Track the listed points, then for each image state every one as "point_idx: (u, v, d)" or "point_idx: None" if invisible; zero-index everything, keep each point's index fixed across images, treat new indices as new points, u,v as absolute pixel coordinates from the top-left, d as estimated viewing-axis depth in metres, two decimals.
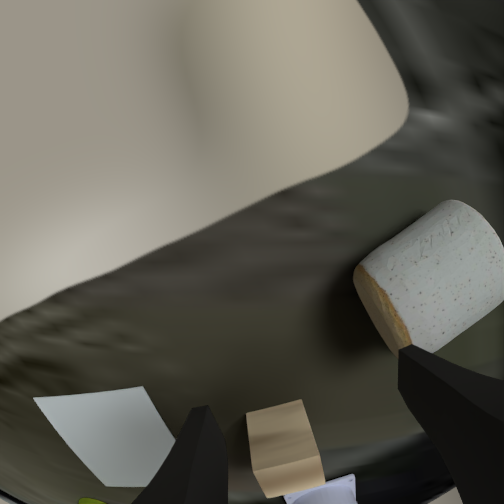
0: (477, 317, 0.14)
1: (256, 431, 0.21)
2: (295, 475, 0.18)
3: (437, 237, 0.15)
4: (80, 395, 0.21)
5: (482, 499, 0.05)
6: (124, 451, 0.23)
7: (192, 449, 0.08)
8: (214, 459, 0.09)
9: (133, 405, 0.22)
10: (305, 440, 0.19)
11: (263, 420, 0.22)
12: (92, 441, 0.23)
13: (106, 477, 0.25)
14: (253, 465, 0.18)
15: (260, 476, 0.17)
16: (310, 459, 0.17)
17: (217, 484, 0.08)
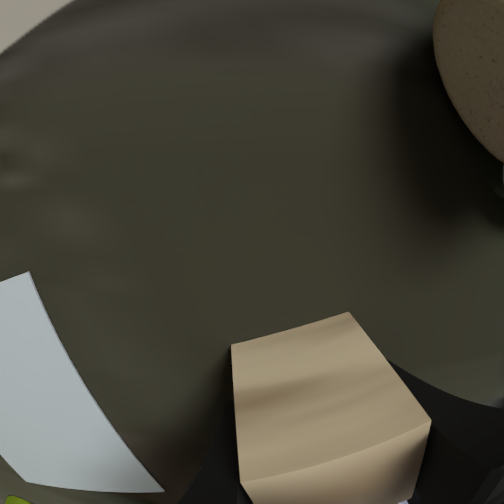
0: None
1: (254, 380, 0.09)
2: (356, 488, 0.06)
3: None
4: None
5: None
6: (28, 422, 0.12)
7: (235, 442, 0.08)
8: None
9: (18, 319, 0.10)
10: (382, 389, 0.07)
11: (269, 356, 0.10)
12: None
13: (21, 468, 0.13)
14: (243, 465, 0.06)
15: (263, 496, 0.06)
16: (406, 438, 0.06)
17: None
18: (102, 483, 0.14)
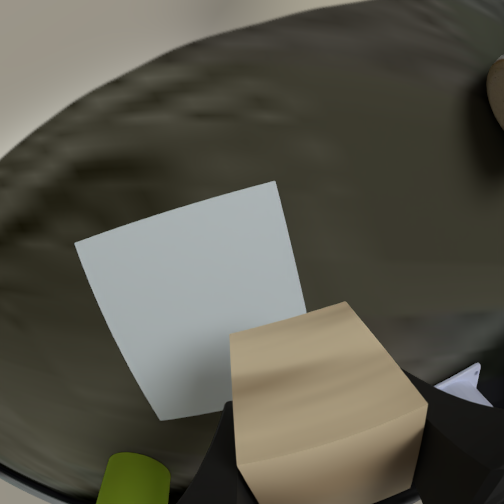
0: None
1: (252, 367, 0.09)
2: (353, 474, 0.06)
3: None
4: (165, 213, 0.17)
5: None
6: (212, 331, 0.19)
7: None
8: None
9: (252, 220, 0.17)
10: (378, 374, 0.07)
11: (267, 343, 0.10)
12: (159, 319, 0.18)
13: (164, 402, 0.20)
14: (240, 448, 0.06)
15: (260, 481, 0.06)
16: (403, 421, 0.06)
17: None
18: None
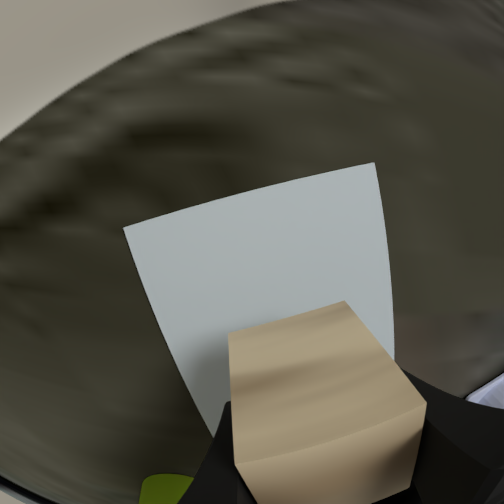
0: None
1: (250, 365, 0.09)
2: (352, 474, 0.06)
3: None
4: (249, 192, 0.14)
5: None
6: None
7: None
8: None
9: (349, 205, 0.14)
10: (377, 373, 0.07)
11: (266, 342, 0.10)
12: (230, 323, 0.15)
13: None
14: (238, 447, 0.06)
15: (258, 480, 0.06)
16: (401, 421, 0.06)
17: None
18: None
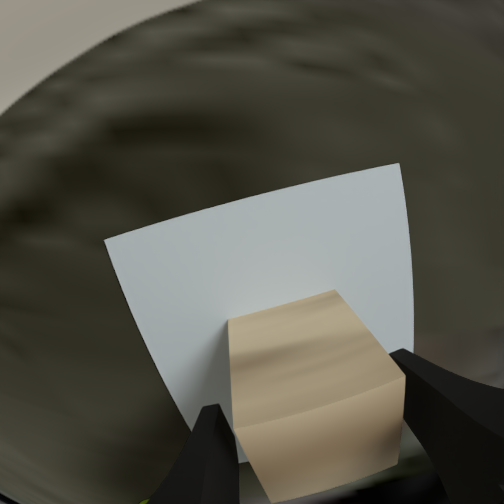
0: None
1: (248, 346, 0.10)
2: (340, 444, 0.07)
3: None
4: (253, 198, 0.11)
5: None
6: None
7: (205, 447, 0.08)
8: (226, 457, 0.09)
9: (370, 212, 0.12)
10: (361, 350, 0.09)
11: (262, 326, 0.11)
12: None
13: None
14: (236, 415, 0.07)
15: (255, 447, 0.07)
16: (383, 392, 0.07)
17: (229, 482, 0.08)
18: None
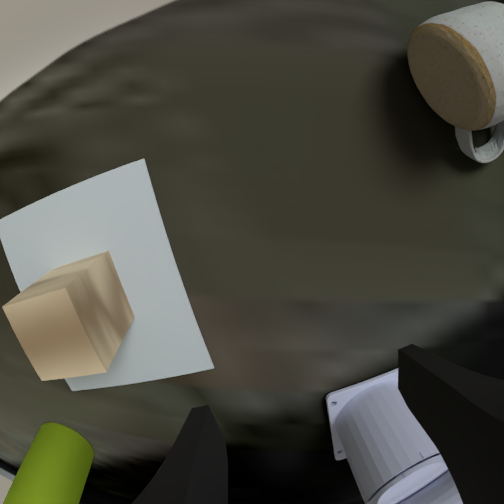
0: None
1: (42, 279, 0.15)
2: (51, 332, 0.12)
3: (472, 7, 0.10)
4: (56, 193, 0.16)
5: (482, 499, 0.05)
6: None
7: (192, 449, 0.08)
8: (214, 459, 0.09)
9: (125, 196, 0.17)
10: (70, 278, 0.13)
11: (58, 270, 0.16)
12: None
13: None
14: (8, 302, 0.12)
15: (13, 322, 0.12)
16: (57, 296, 0.12)
17: (217, 484, 0.08)
18: (156, 368, 0.20)
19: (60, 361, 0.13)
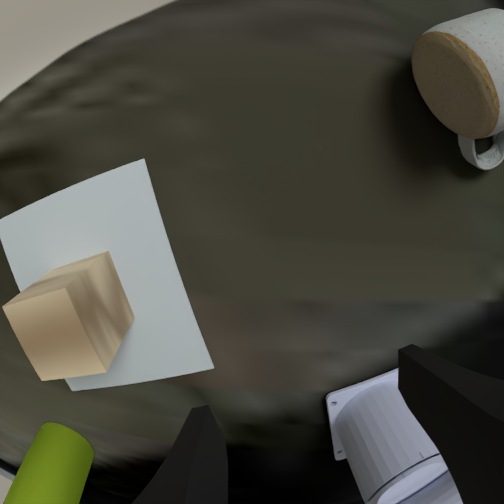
0: None
1: (42, 279, 0.15)
2: (51, 332, 0.12)
3: (477, 15, 0.10)
4: (56, 193, 0.16)
5: (482, 499, 0.05)
6: None
7: (192, 449, 0.08)
8: (214, 459, 0.09)
9: (125, 196, 0.17)
10: (70, 278, 0.13)
11: (58, 270, 0.16)
12: None
13: None
14: (8, 302, 0.12)
15: (13, 322, 0.12)
16: (57, 296, 0.12)
17: (217, 484, 0.08)
18: (156, 368, 0.20)
19: (60, 361, 0.13)
